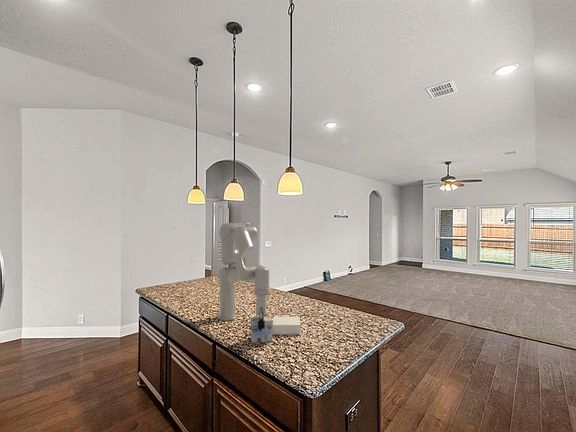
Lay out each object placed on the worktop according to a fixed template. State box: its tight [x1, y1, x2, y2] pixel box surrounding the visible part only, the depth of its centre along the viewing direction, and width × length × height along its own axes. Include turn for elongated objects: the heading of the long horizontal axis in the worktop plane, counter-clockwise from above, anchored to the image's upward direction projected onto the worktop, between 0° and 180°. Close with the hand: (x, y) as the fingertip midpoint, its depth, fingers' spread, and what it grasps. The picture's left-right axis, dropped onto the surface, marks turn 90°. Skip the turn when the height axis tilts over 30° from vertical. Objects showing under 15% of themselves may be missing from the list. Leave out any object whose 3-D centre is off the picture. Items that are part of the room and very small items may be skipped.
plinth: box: [272, 316, 301, 335], centre depth 157 cm, size 13×15×5 cm
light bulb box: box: [250, 315, 273, 344], centre depth 144 cm, size 11×7×11 cm, turn 105°
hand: (262, 325), depth 143 cm, fingers open, 9 cm apart
